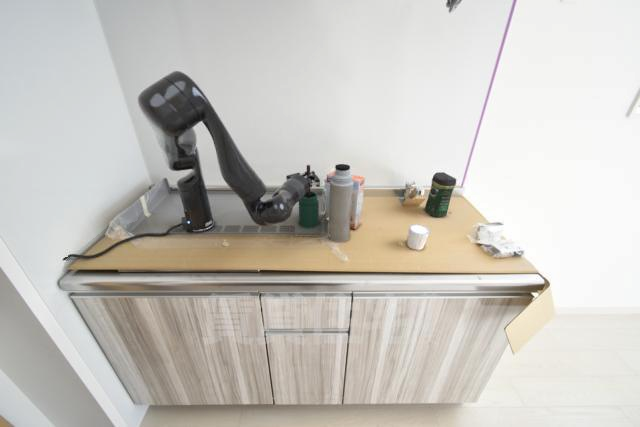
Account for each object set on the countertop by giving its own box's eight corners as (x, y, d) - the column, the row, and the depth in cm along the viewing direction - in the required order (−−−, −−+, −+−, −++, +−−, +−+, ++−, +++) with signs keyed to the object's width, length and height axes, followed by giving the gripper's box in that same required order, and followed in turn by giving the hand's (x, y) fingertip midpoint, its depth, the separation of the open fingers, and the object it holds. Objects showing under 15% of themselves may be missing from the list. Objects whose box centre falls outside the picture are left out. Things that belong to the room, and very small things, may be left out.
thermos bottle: (349, 231, 96) (355, 163, 82) (347, 243, 89) (354, 170, 75) (330, 229, 97) (332, 161, 84) (326, 240, 90) (329, 168, 77)
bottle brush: (306, 215, 97) (305, 167, 87) (302, 211, 100) (301, 164, 90) (315, 213, 98) (315, 166, 89) (310, 209, 101) (310, 163, 92)
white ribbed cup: (424, 242, 90) (429, 226, 87) (425, 252, 85) (430, 236, 81) (405, 238, 92) (409, 222, 89) (405, 248, 86) (408, 232, 83)
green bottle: (304, 229, 97) (303, 200, 90) (296, 220, 103) (295, 192, 96) (321, 225, 100) (322, 196, 94) (313, 216, 106) (313, 189, 100)
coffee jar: (449, 217, 107) (461, 178, 98) (432, 218, 106) (444, 178, 97) (437, 207, 116) (447, 170, 107) (421, 208, 114) (430, 171, 106)
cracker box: (360, 223, 101) (365, 176, 91) (354, 230, 97) (359, 181, 87) (331, 214, 108) (333, 169, 98) (324, 220, 103) (326, 174, 93)
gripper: (313, 181, 76) (328, 165, 90) (274, 176, 79) (294, 161, 94) (313, 202, 79) (327, 184, 94) (276, 197, 83) (295, 180, 97)
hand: (310, 173), depth 94 cm, fingers closed on bottle brush, 1 cm apart
